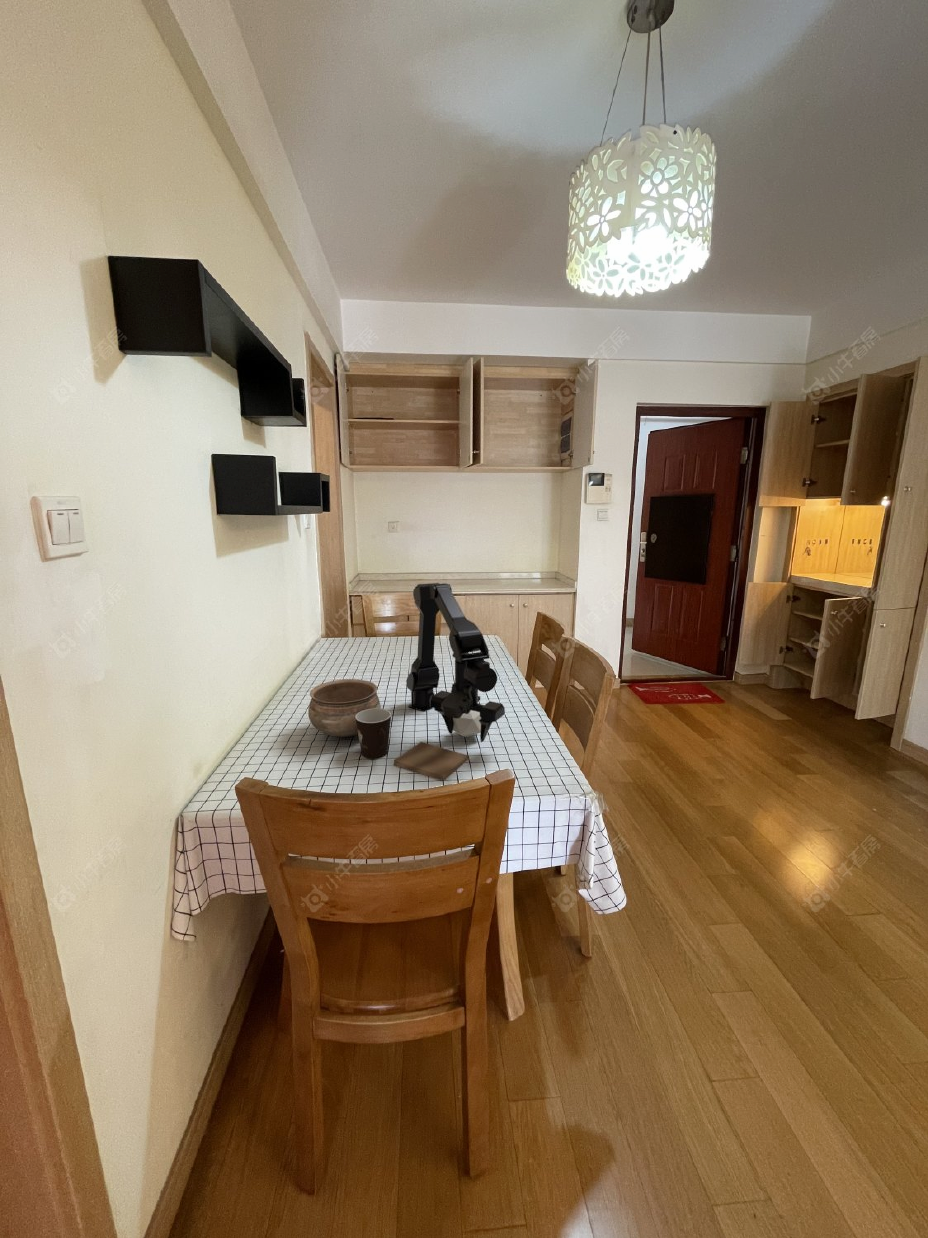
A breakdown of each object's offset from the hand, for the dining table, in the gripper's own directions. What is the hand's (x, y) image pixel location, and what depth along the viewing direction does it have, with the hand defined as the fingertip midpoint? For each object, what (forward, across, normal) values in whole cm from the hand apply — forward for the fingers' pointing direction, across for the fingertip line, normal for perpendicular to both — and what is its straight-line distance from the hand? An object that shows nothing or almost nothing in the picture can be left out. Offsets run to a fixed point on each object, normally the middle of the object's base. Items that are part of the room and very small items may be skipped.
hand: (466, 737), depth 122 cm
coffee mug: (+3, -18, -15) cm, 23 cm away
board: (+3, -4, -10) cm, 11 cm away
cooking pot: (+3, -32, -9) cm, 34 cm away
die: (+3, -3, +5) cm, 7 cm away
